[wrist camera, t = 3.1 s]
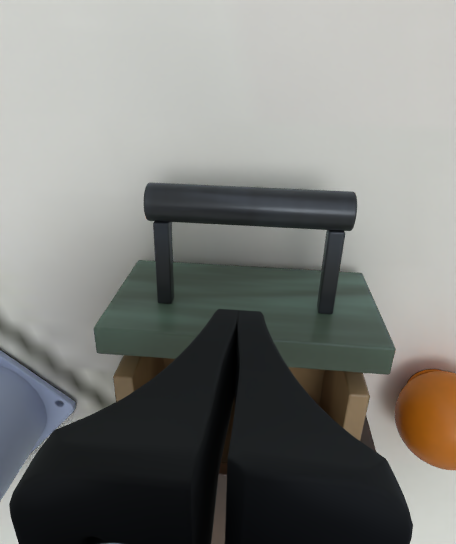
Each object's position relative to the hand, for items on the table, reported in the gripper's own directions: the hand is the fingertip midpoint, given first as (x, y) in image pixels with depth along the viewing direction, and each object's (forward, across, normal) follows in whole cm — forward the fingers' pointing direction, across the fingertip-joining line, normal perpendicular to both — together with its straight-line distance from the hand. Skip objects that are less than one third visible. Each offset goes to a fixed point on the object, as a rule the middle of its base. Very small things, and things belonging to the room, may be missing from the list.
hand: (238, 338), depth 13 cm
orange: (+9, -10, +9) cm, 17 cm away
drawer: (+9, 0, +6) cm, 10 cm away
